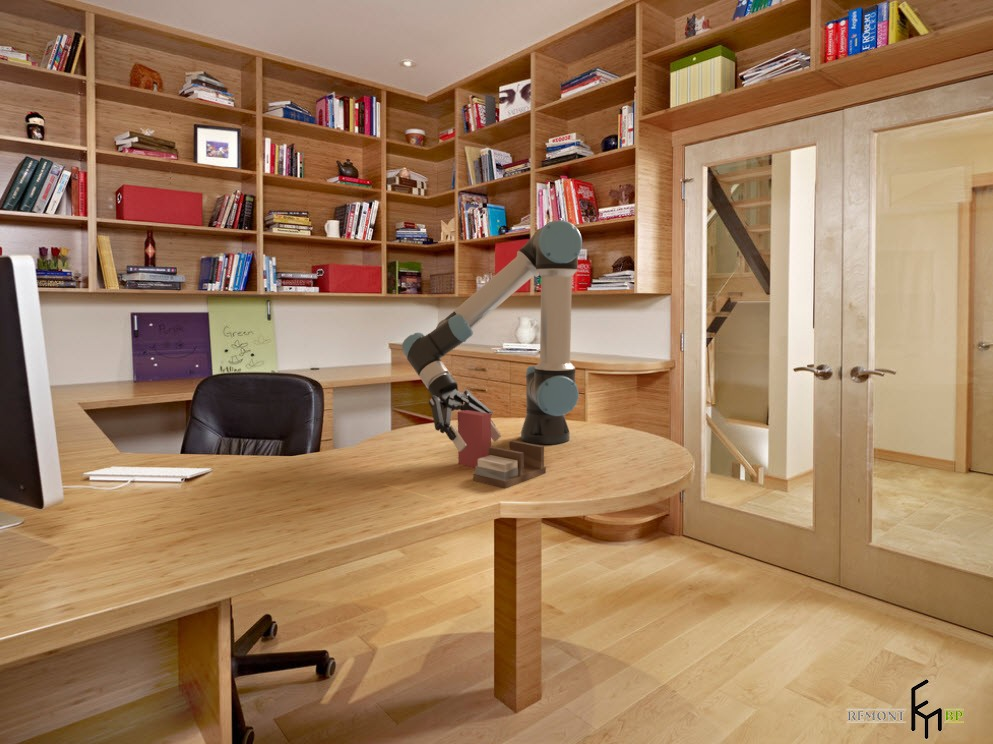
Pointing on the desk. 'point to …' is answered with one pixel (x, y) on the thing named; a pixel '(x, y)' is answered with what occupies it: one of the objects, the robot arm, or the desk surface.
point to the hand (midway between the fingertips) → (481, 443)
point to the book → (474, 436)
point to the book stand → (510, 464)
